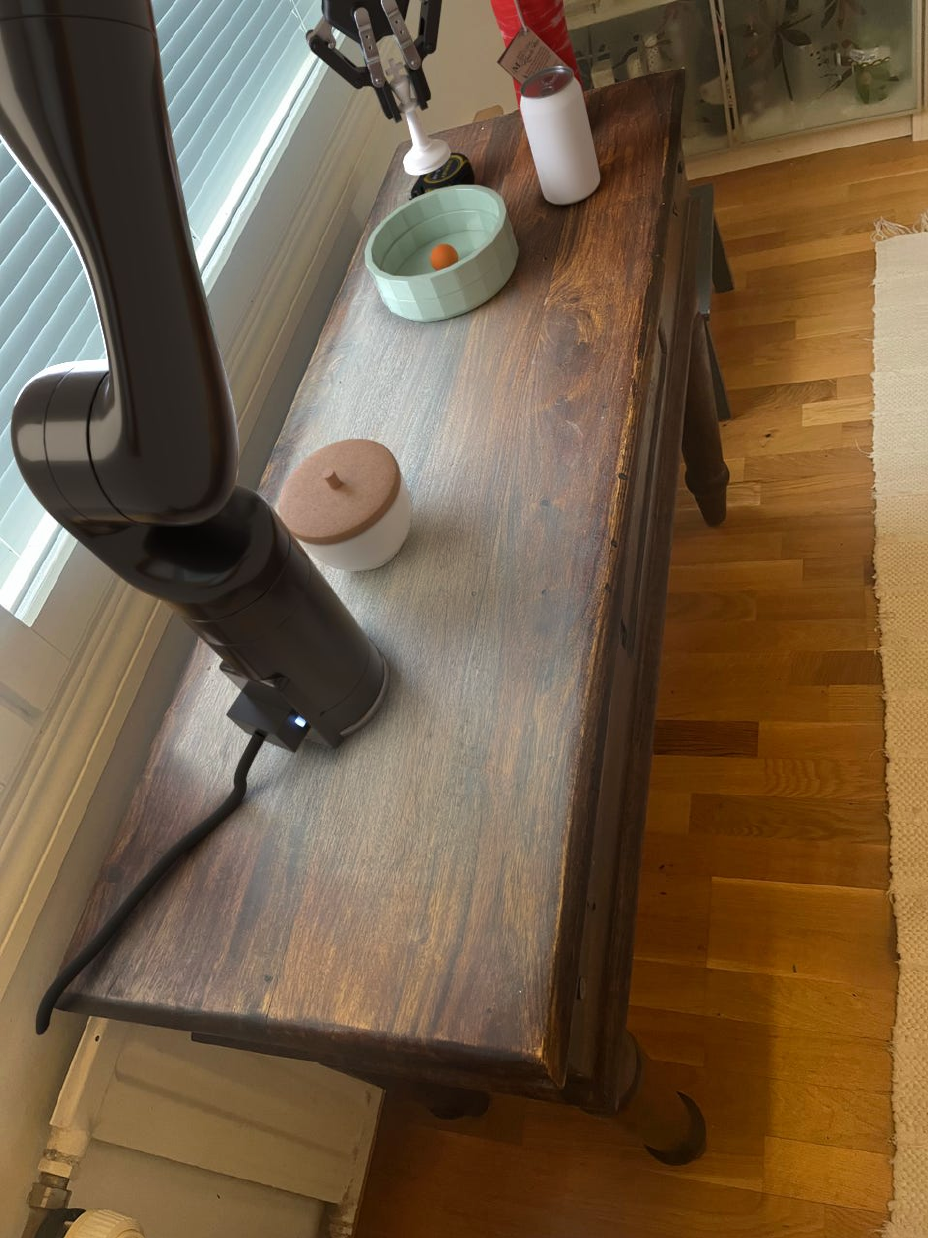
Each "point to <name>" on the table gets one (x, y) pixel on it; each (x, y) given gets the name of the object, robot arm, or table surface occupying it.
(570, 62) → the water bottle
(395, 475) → the trinket box
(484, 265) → the bowl
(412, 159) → the chess piece
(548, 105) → the can
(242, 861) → the table surface
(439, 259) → the ball
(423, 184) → the tape measure
